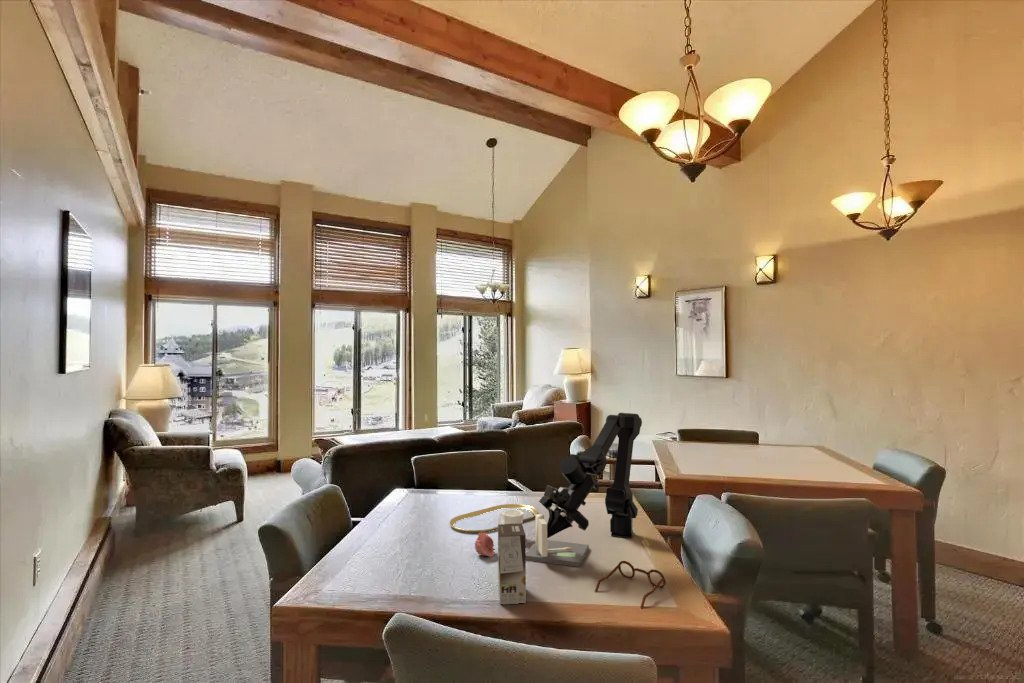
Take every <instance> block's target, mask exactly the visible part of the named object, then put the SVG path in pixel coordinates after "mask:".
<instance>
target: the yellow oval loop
mask: <svg viewBox="0 0 1024 683" xmlns="http://www.w3.org/2000/svg"><path fill="white" fill-rule="evenodd" d="M501 508H510V509H514V508H521V509H520V510H523V509H526V510H525V511H527V510H530V511H532V512H533V513H534V516H533V515H531V516H528V517H526V518H523V522H526V520H527V521H530V520H531V519H534V518H535V514H538V510H537V509H536V508H534V507H533V506H532V505H531V506H530V505H526V504H521V503H519V504H517V503H506V504H505V503H504V504H498V505H494V506H491V507H486V508H482V509H479V510H476V511H471V512H468V513H463V514H460V515H457V516H454V517H453V518H451V519H450V520H449V525H450V526H451V528H452V529H453V530H455V531H457V530H458V531H457V532H460V531H461V533H465V532H467V534H480V532H481V533H482V532H484V531H485V533H489V531H490V532H493V530H494V531H496V529H497V530H498V526H496V527H492V528H487V529H479V530H478V529H476V530H475V529H473V530H472V529H463V528H458V527H456V526H455V527H454V526H453V524H454V523H455V522H456V521H458V520H460V521H462V520H461V519H463V520H465V519H464V518H467V519H469V518H468V517H471V518H474V517H473V516H475V517H478V516H481V515H480V514H482V515H484V514H483V513H486V512H489V513H491V512H490V511H493V512H495V511H494V510H497V509H501ZM501 510H502V509H501ZM497 511H498V510H497ZM530 511H529V512H530ZM486 514H487V513H486ZM477 515H478V516H477ZM533 517H534V518H533ZM529 519H530V520H529ZM458 522H459V521H458ZM455 524H456V523H455ZM479 531H480V532H479Z"/></svg>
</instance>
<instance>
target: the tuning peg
mask: <svg viewBox="0 0 1024 683" xmlns="http://www.w3.org/2000/svg"><path fill="white" fill-rule="evenodd" d="M534 520H535V521H534V522H535V542H536V553H538V554H541V556H542V557H547V551H560V550H571V547H569V548H558V549H547V540H548V538H547V523H548V522H547V521H546V520H545V515H544V514H541V513H537V514H535V517H534Z"/></svg>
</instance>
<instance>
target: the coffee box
mask: <svg viewBox="0 0 1024 683" xmlns="http://www.w3.org/2000/svg"><path fill="white" fill-rule="evenodd" d="M497 527H498V529H497V557H498V558H497V562H498V563H497V565H498V566H497V567H498V568H497V569H498V571H497V572H498V573H497V574H498V575H497V577H498V583H497V584H498V586H497V587H498V596H499V597H498V598H499V599H498V600H499V604H500V605H501V604H503V605H520V604H519V603H524V604H526V600H527V599H526V597H527V596H526V595H527V582H526V580H527V579H526V575H527V573H526V572H527V571H526V570H527V569H526V568H527V567H526V561H527V560H526V552H527V551H526V548H527V546H526V545H527V544H526V543H527V542H526V540H527V538H526V537H527V536H526V533H525V529H524V525H523V523H520V524H504V523H503V524H502V523H501V524H499V523H498V524H497Z"/></svg>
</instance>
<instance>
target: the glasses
mask: <svg viewBox="0 0 1024 683" xmlns="http://www.w3.org/2000/svg"><path fill="white" fill-rule="evenodd" d="M622 564H625V565H628V567H629V568H630V569H631V571H632V572H631V574H632V575H630V576H629V575H626V574H625V573H624V571H622V569H621V568H622ZM616 571H618V572H619V573H620V575H621V576H622V577H623V578H626V579H629V580H631V579H634V577H635V575H636V572H638V573H642V574H645V575H647V579H648V582H649V584H650V585H651V586H653V587H652V589H651V590H650V591H647V592H646V593H645V594H644V595H643V597H642V600H641V604H640V607H639V609H640V608H641V610H642V609H643V608H644V606H645V602H646V599H647V597H649V596H650V595H653V594H654V593H655V591H657V589H663V588H665V586H666V583H667V581H666V578H665V576H664V574H663V573H662V572H661V571H659V570H657V569H649V570H648V571H647V570H646V569H642V568H638V567H634V566H633V564H632V563H630V562H629V561H626V560H621V561H619V563H618V564H617V565H616V566H615V567H614V568H613V569H612V570H611V571H610V572H609V573H608V575H606V576H603V577H601V578H600V579H599V580H597V584H596V586H595V589H594V593H595V594H596V593H597V592H599V588H600V585H601V583H602V582H603V581H605V580H608V579H610V577H611V576H612V575H613V574H615V572H616ZM652 573H655V574H657V575H658V576H660V577H661V578H660V579H659V581H658V582H657V583H656V584H655V583H654V582H653V581H652V579H651V574H652ZM661 584H662V585H661ZM654 586H655V587H654Z"/></svg>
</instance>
